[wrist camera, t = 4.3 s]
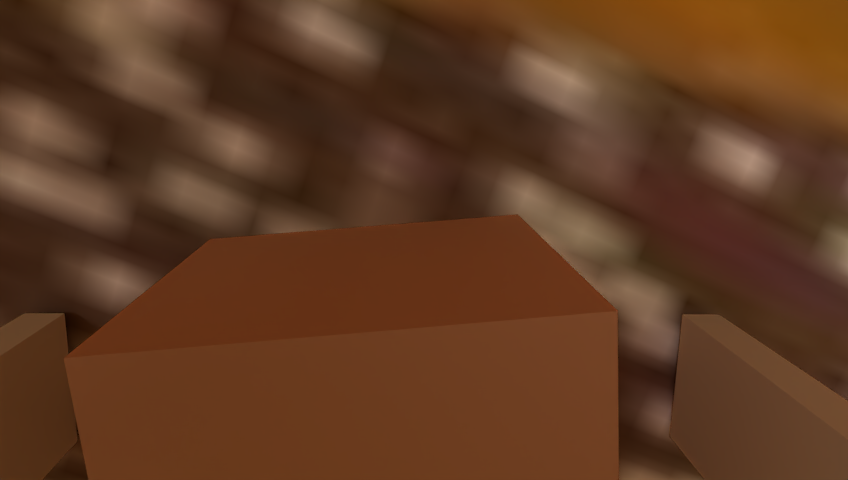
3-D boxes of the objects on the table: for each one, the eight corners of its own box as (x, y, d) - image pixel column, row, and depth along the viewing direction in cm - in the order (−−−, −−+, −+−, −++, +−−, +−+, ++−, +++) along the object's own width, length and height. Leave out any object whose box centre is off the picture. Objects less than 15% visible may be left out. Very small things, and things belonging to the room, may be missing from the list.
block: (250, 509, 14) (154, 800, 8) (211, 237, 13) (63, 357, 7) (527, 483, 14) (621, 749, 9) (516, 213, 13) (617, 311, 7)
